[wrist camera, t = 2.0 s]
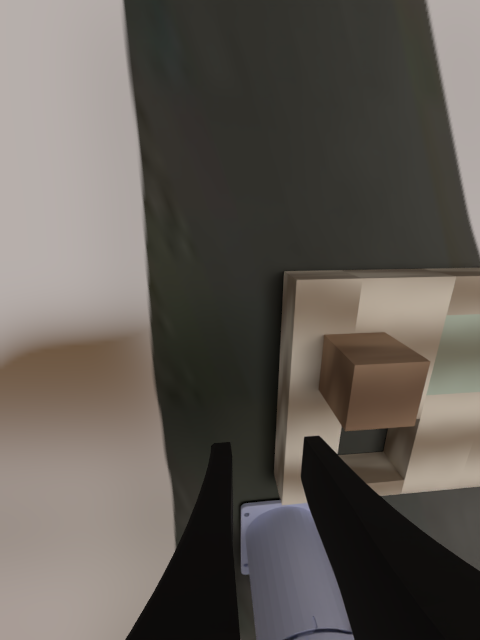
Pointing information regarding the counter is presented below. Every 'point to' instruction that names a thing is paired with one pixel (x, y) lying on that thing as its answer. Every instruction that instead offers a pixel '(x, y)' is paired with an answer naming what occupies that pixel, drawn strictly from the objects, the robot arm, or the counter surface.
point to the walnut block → (371, 380)
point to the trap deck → (413, 331)
